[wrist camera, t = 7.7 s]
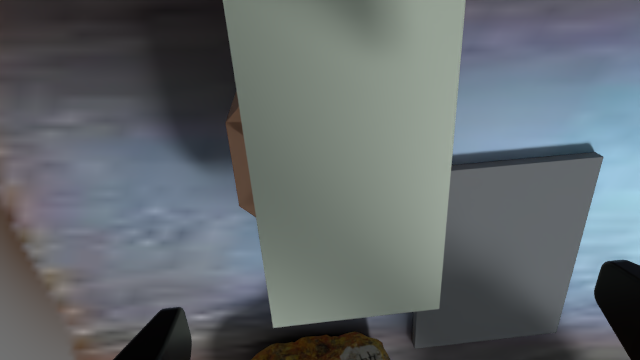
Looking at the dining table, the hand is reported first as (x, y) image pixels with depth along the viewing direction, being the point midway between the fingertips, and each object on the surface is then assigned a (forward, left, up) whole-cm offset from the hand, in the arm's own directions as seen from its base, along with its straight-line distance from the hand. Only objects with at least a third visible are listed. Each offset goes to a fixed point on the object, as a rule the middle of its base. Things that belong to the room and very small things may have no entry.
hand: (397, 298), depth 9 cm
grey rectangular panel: (-9, -9, -12) cm, 17 cm away
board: (0, 0, -7) cm, 7 cm away
